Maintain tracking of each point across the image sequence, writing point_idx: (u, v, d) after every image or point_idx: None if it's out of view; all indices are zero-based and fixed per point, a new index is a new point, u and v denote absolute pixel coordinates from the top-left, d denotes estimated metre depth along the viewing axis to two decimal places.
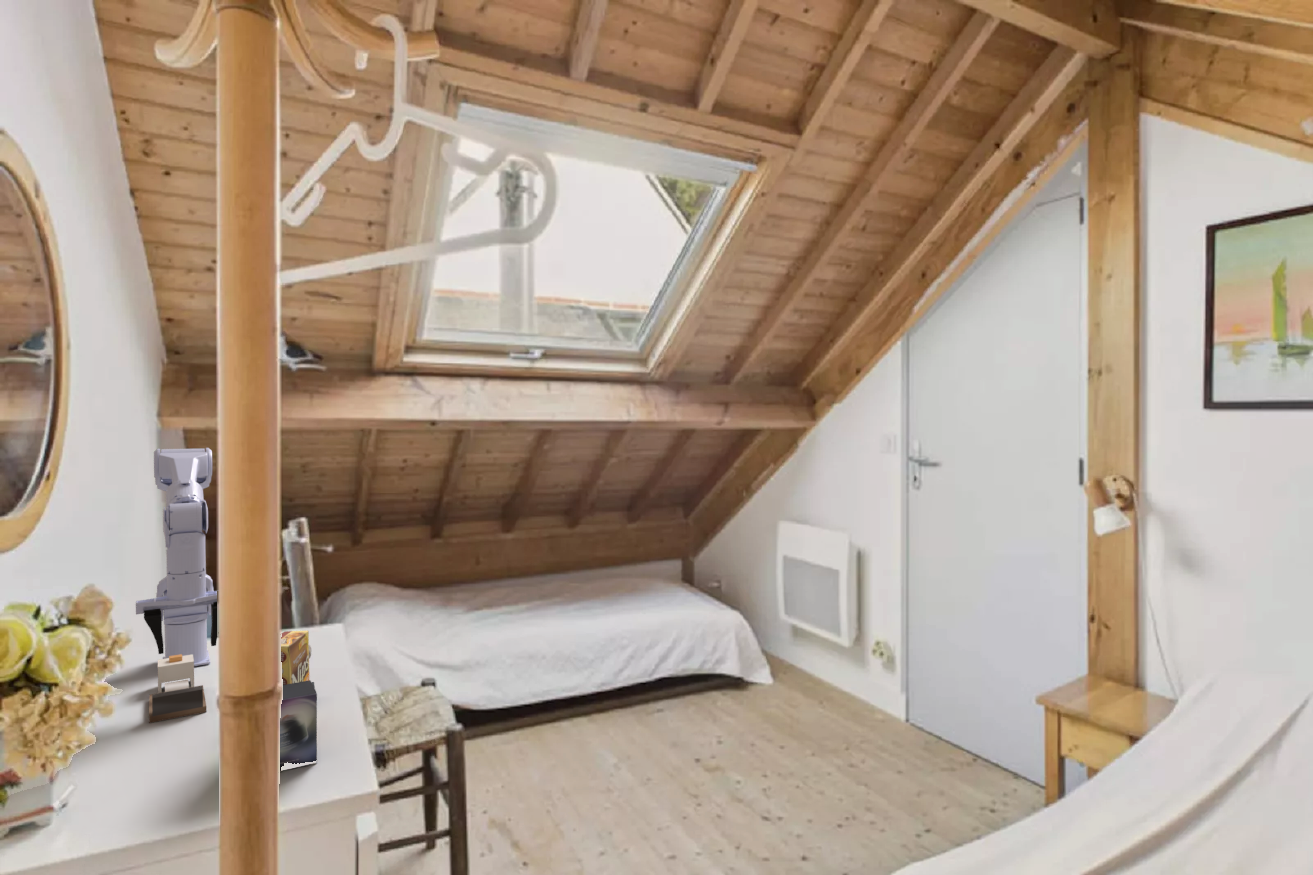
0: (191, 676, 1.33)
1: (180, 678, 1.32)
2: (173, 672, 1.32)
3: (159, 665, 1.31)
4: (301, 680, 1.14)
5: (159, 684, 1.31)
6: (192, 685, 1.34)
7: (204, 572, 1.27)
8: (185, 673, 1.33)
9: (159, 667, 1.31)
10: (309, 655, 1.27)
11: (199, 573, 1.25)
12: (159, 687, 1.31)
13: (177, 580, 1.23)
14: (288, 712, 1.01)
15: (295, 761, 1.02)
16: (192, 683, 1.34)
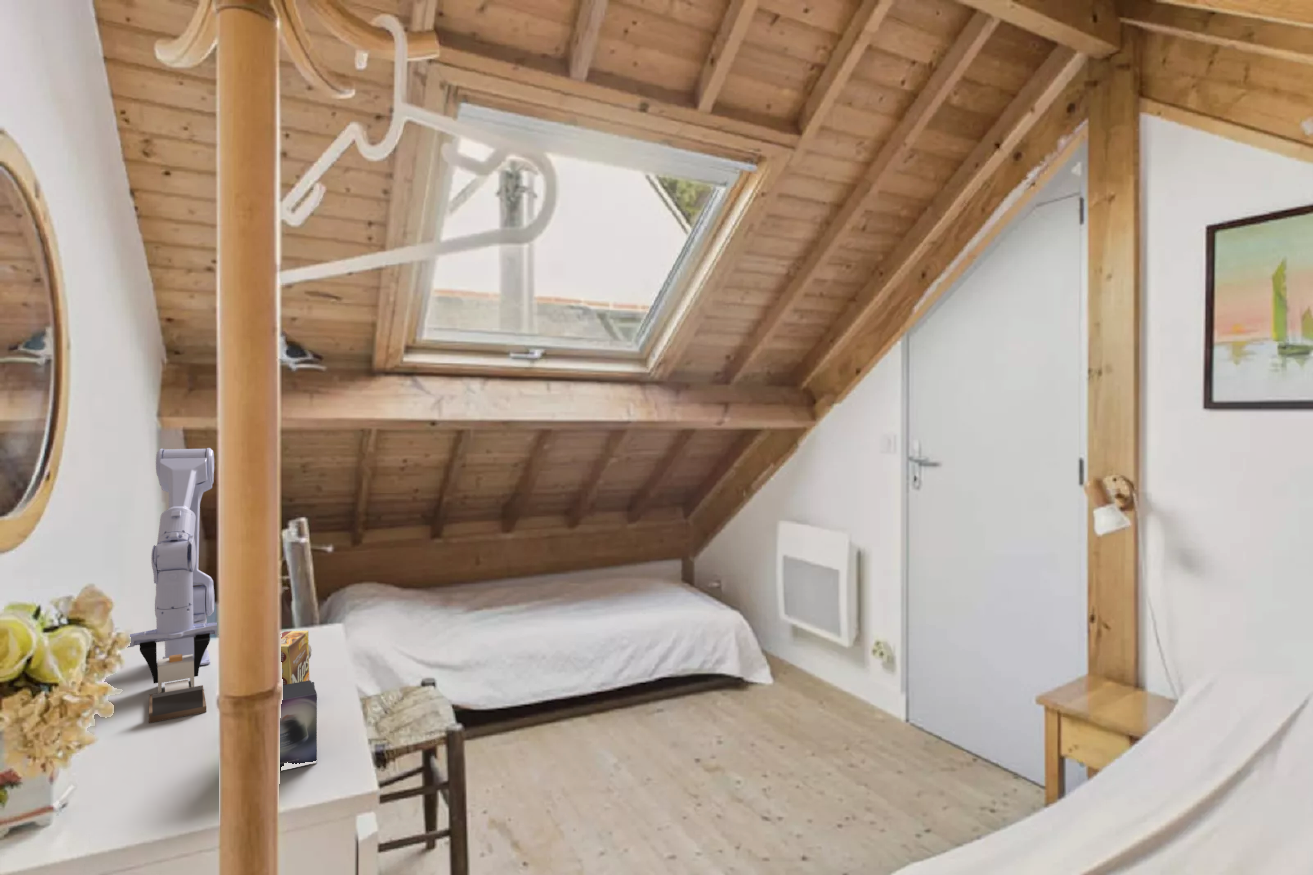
0: (191, 676, 1.33)
1: (180, 678, 1.32)
2: (173, 671, 1.32)
3: (159, 665, 1.31)
4: (301, 679, 1.14)
5: (159, 684, 1.31)
6: (192, 685, 1.34)
7: (191, 606, 1.35)
8: (185, 673, 1.33)
9: (159, 667, 1.31)
10: (309, 655, 1.27)
11: (187, 607, 1.33)
12: (159, 687, 1.31)
13: (165, 615, 1.31)
14: (288, 712, 1.01)
15: (295, 761, 1.02)
16: (192, 683, 1.34)
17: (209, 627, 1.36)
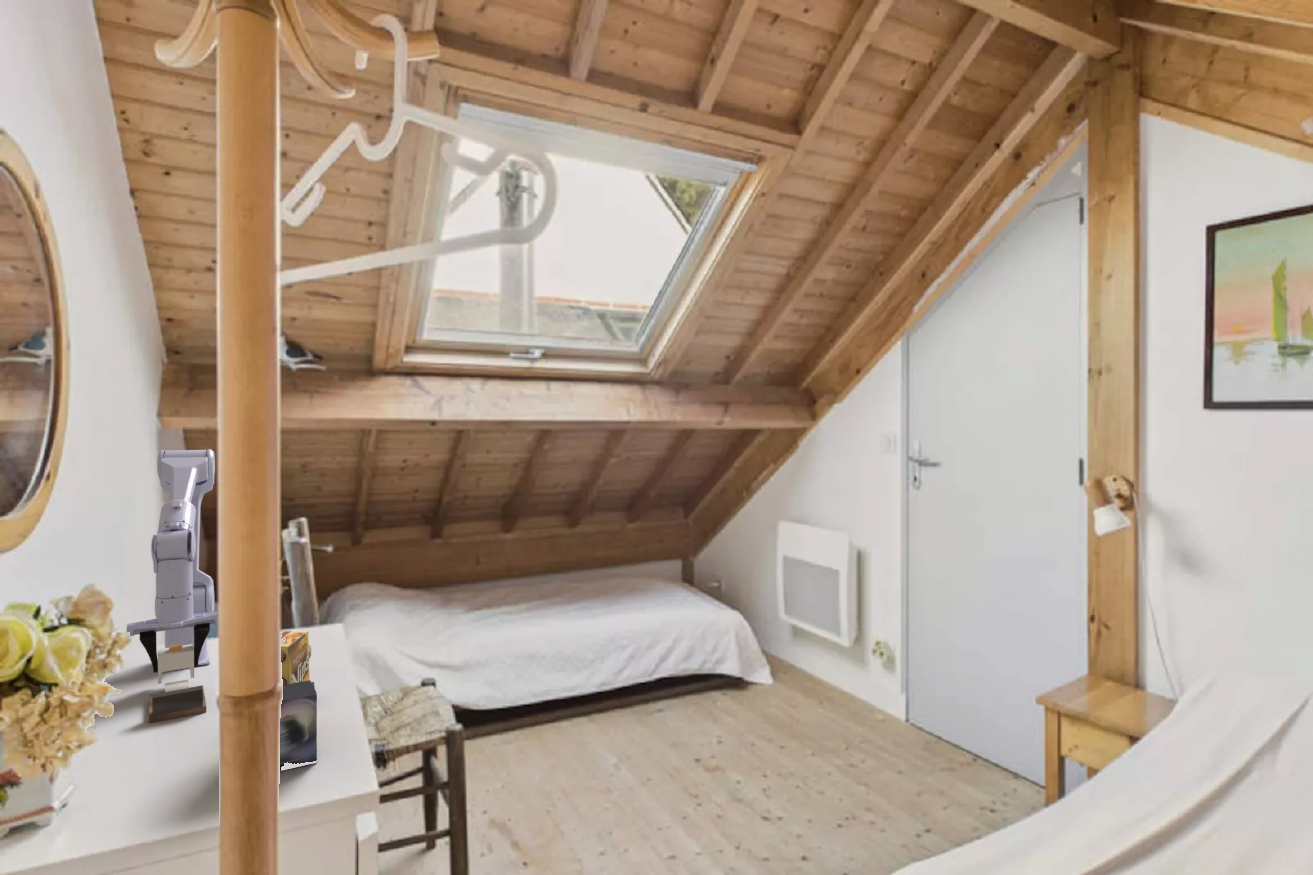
0: (191, 665, 1.33)
1: (180, 667, 1.33)
2: (173, 661, 1.32)
3: (159, 654, 1.31)
4: (301, 679, 1.14)
5: (159, 673, 1.31)
6: (192, 674, 1.34)
7: (191, 596, 1.34)
8: (185, 663, 1.33)
9: (159, 656, 1.31)
10: (309, 655, 1.27)
11: (186, 597, 1.33)
12: (159, 676, 1.31)
13: (165, 604, 1.31)
14: (288, 712, 1.01)
15: (295, 761, 1.02)
16: (192, 672, 1.34)
17: (209, 617, 1.36)
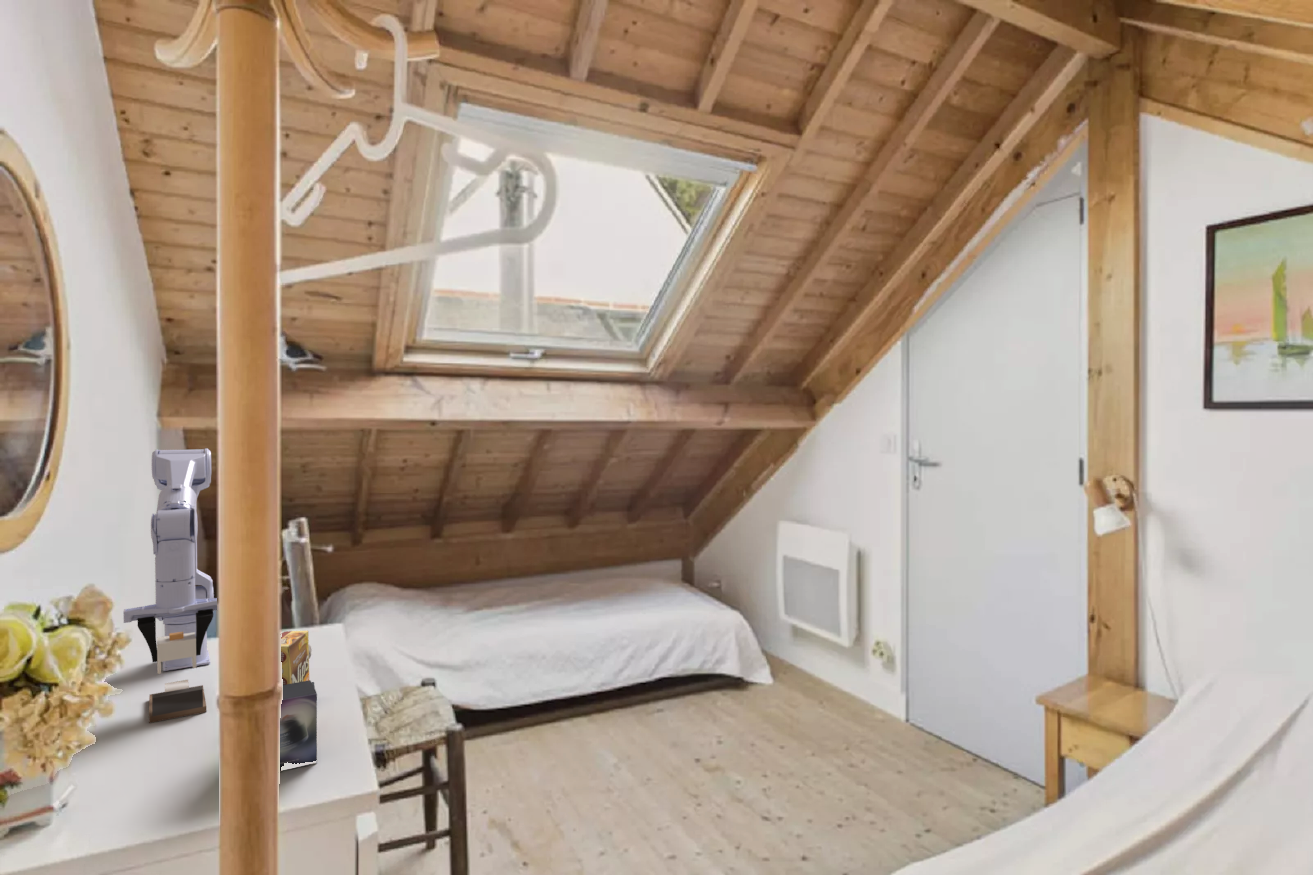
0: (193, 655, 1.24)
1: (181, 657, 1.23)
2: (173, 650, 1.22)
3: (158, 642, 1.22)
4: (301, 679, 1.14)
5: (158, 663, 1.21)
6: (194, 664, 1.24)
7: (193, 580, 1.25)
8: (187, 652, 1.23)
9: (158, 644, 1.21)
10: (309, 655, 1.27)
11: (188, 581, 1.24)
12: (158, 666, 1.21)
13: (165, 588, 1.22)
14: (288, 712, 1.01)
15: (295, 761, 1.02)
16: (194, 662, 1.24)
17: (212, 602, 1.26)
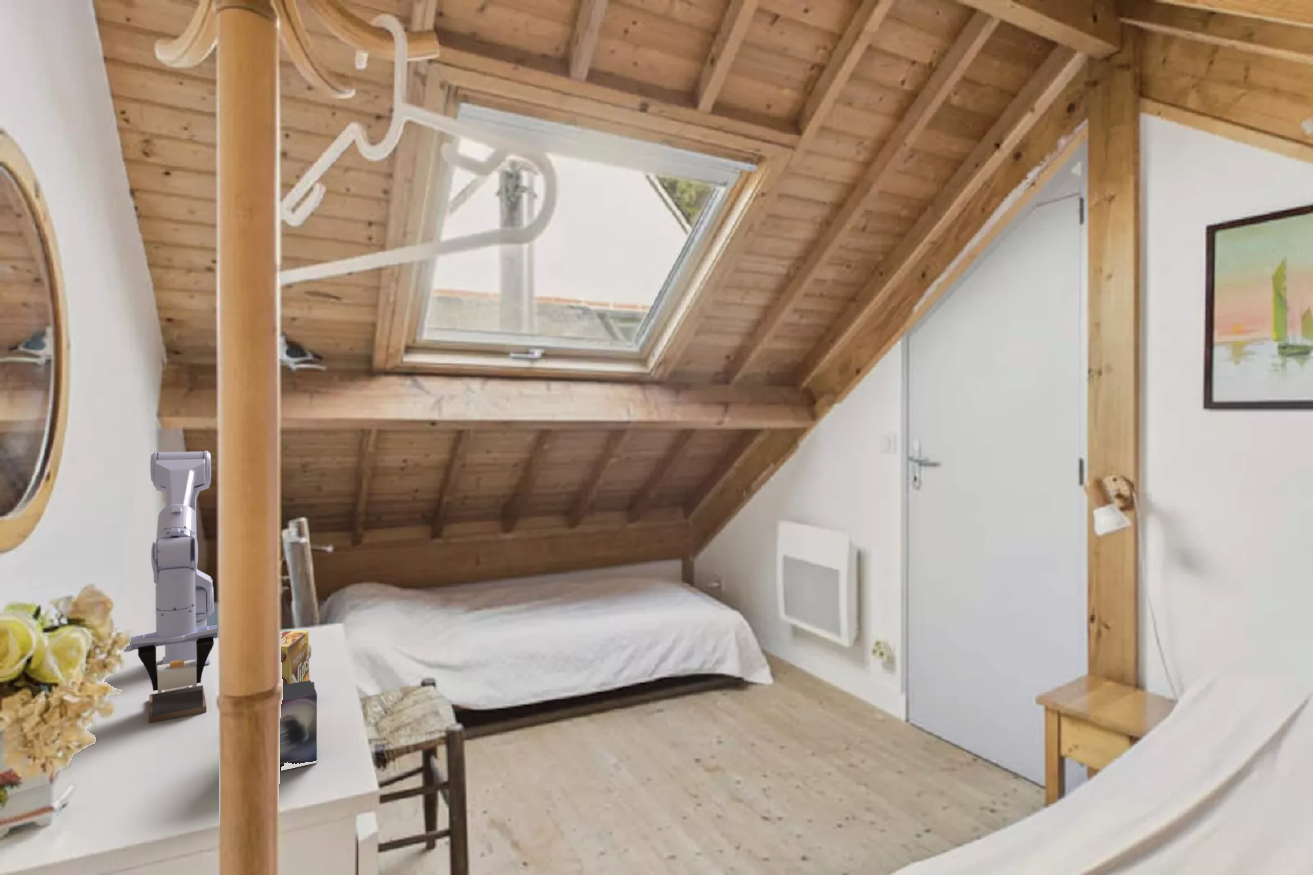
0: (193, 683, 1.24)
1: (182, 685, 1.23)
2: (174, 678, 1.22)
3: (159, 671, 1.22)
4: (301, 680, 1.14)
5: (159, 692, 1.21)
6: None
7: (194, 607, 1.25)
8: (187, 680, 1.24)
9: (159, 673, 1.21)
10: (309, 655, 1.27)
11: (188, 609, 1.24)
12: None
13: (166, 617, 1.22)
14: (288, 712, 1.01)
15: (295, 761, 1.02)
16: None
17: (213, 630, 1.26)
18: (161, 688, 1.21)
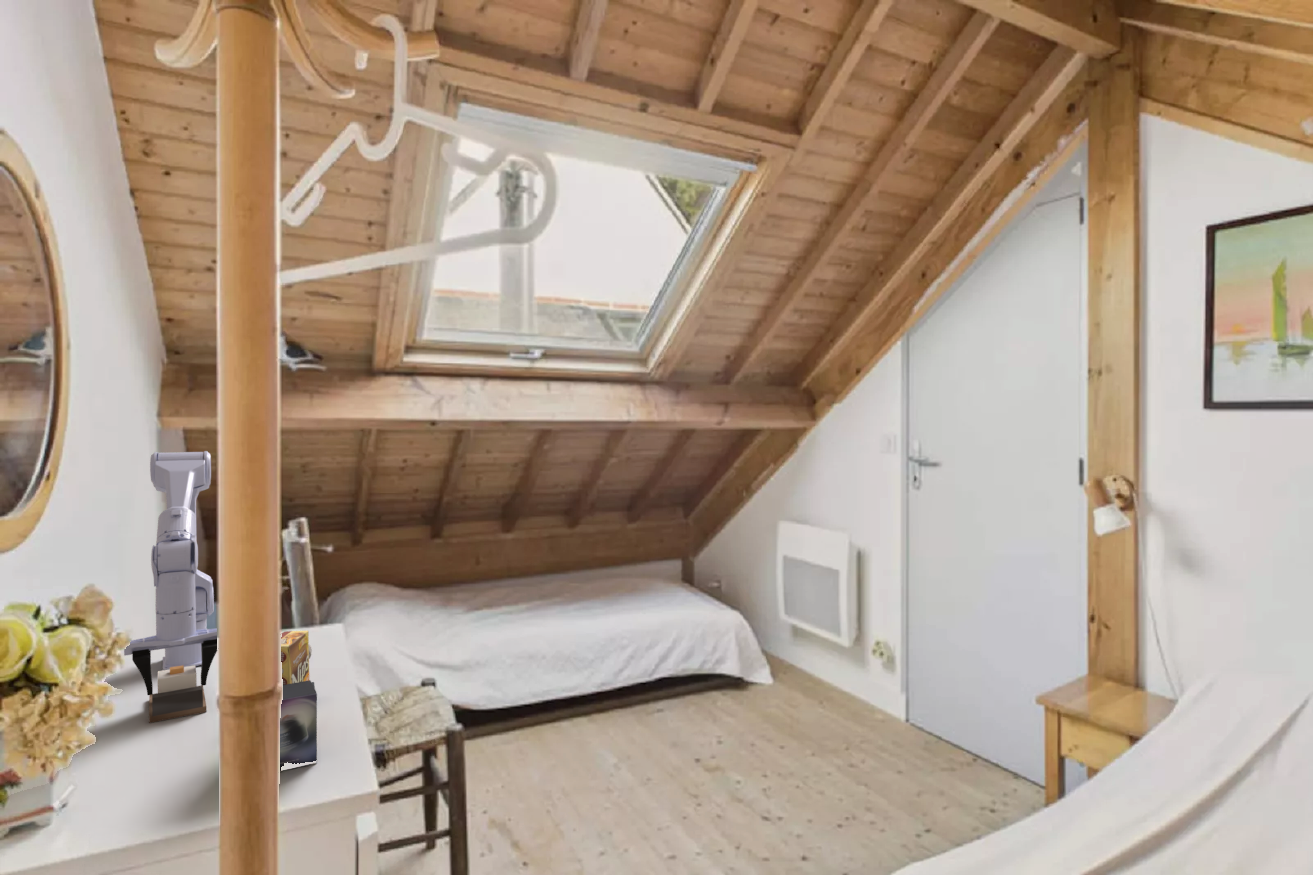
0: None
1: None
2: (174, 684, 1.22)
3: (159, 677, 1.22)
4: (301, 680, 1.14)
5: None
6: None
7: (194, 611, 1.25)
8: (187, 686, 1.24)
9: (159, 680, 1.21)
10: (309, 655, 1.27)
11: (189, 612, 1.24)
12: None
13: (166, 620, 1.22)
14: (288, 712, 1.01)
15: (295, 761, 1.02)
16: None
17: (213, 633, 1.26)
18: None
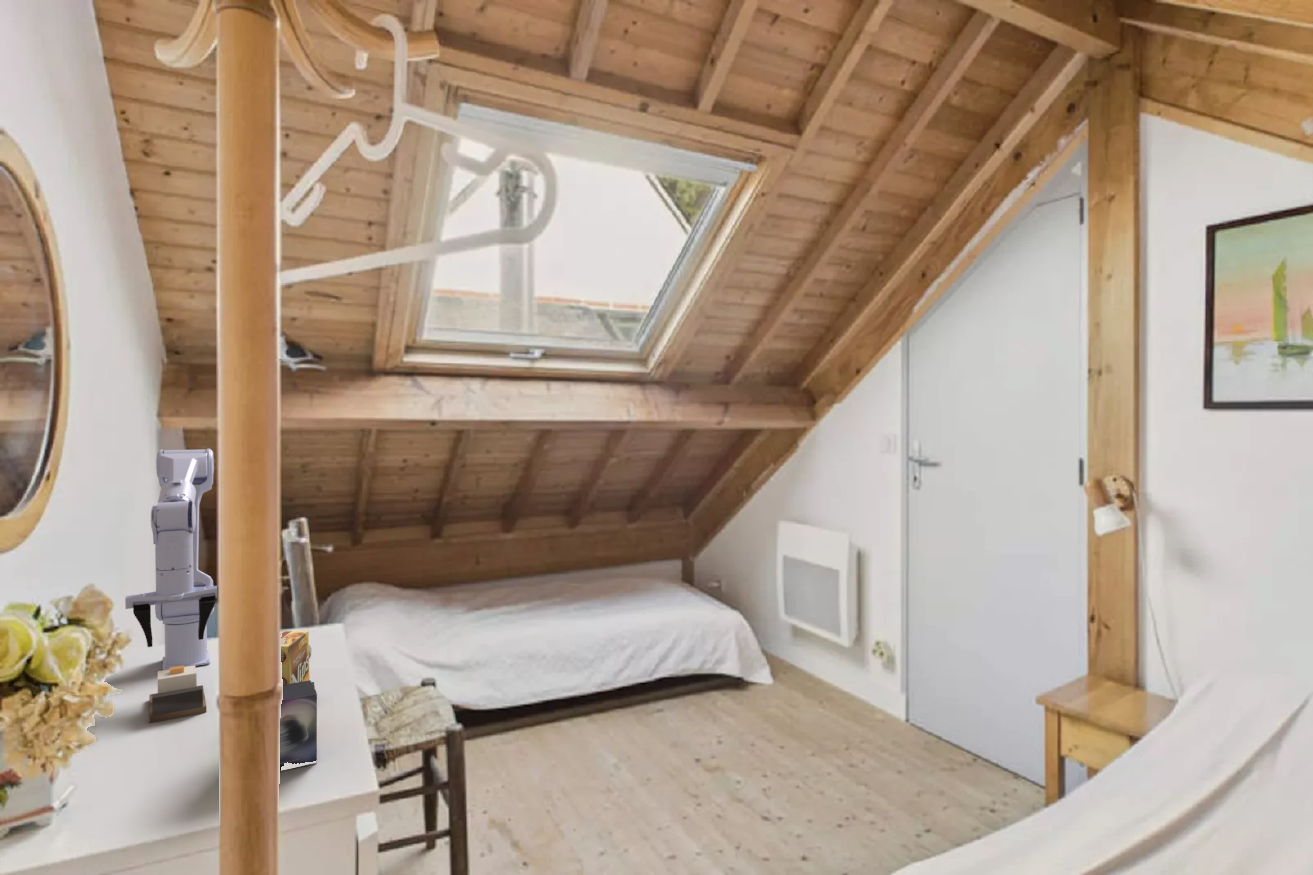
0: None
1: None
2: (174, 684, 1.22)
3: (159, 677, 1.22)
4: (301, 680, 1.14)
5: None
6: None
7: (191, 568, 1.32)
8: (187, 686, 1.24)
9: (159, 680, 1.21)
10: (309, 655, 1.27)
11: (187, 569, 1.30)
12: None
13: (165, 576, 1.28)
14: (288, 712, 1.01)
15: (295, 761, 1.02)
16: None
17: (210, 590, 1.33)
18: None
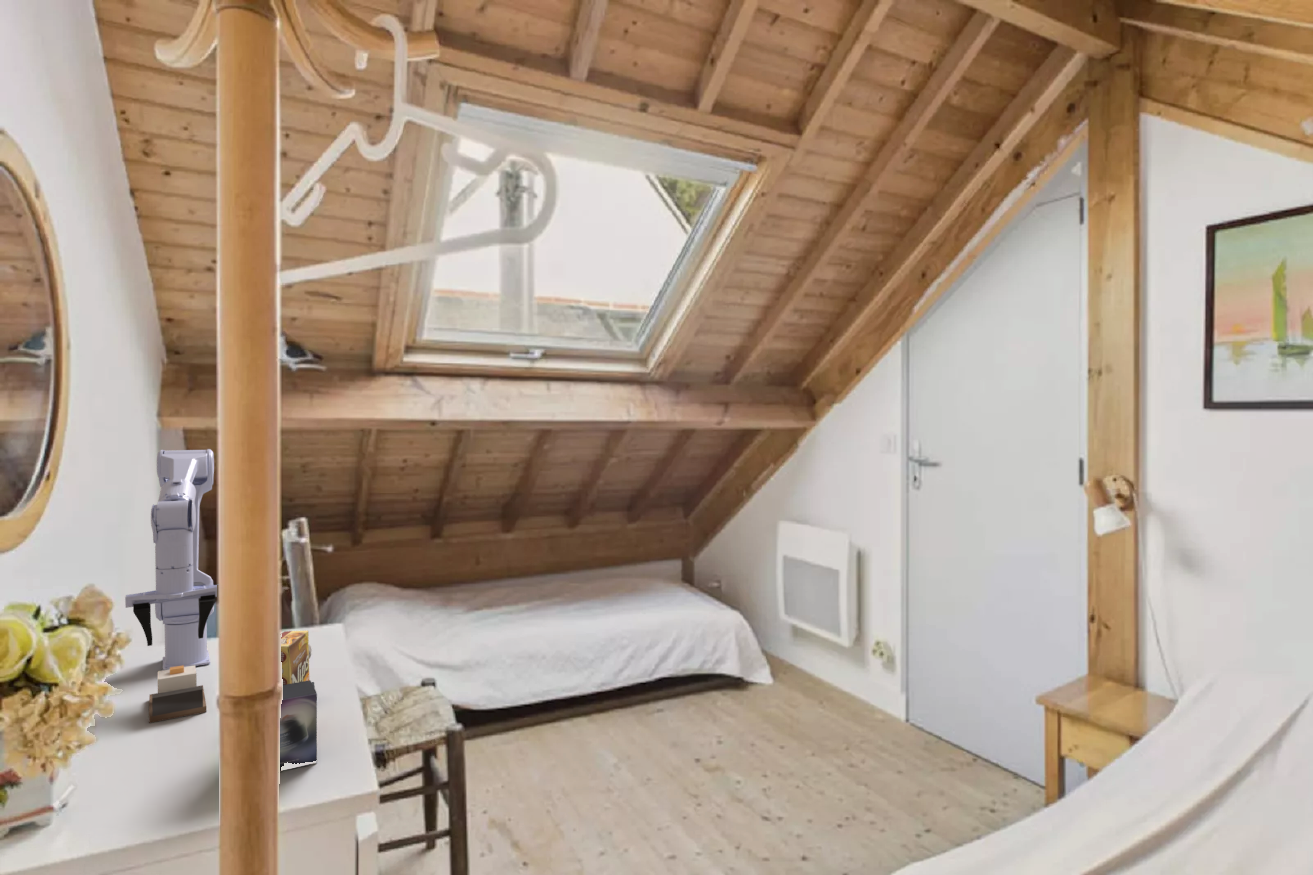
0: None
1: None
2: (174, 684, 1.22)
3: (159, 677, 1.22)
4: (301, 679, 1.14)
5: None
6: None
7: (191, 567, 1.32)
8: (187, 686, 1.24)
9: (159, 680, 1.21)
10: (309, 655, 1.27)
11: (186, 568, 1.31)
12: None
13: (165, 575, 1.29)
14: (288, 712, 1.01)
15: (295, 761, 1.02)
16: None
17: (209, 589, 1.33)
18: None
